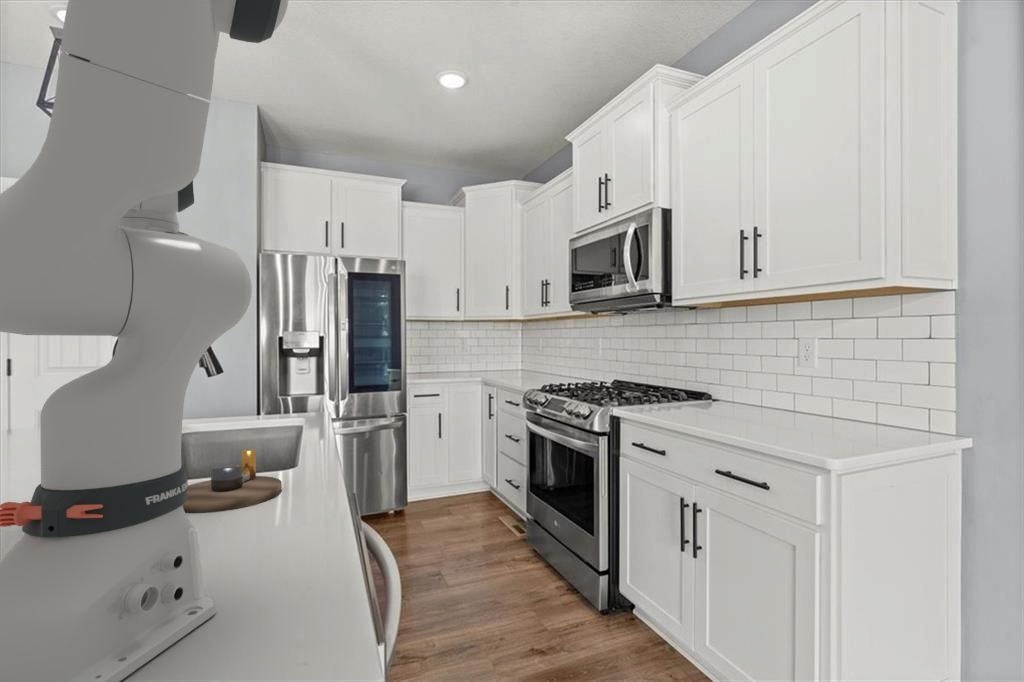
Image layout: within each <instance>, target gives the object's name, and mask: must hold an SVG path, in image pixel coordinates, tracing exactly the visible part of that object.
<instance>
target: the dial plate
mask: <svg viewBox="0 0 1024 682" xmlns="http://www.w3.org/2000/svg"><path fill="white" fill-rule="evenodd" d="M282 483H283V482H282V481H281V480H280V479H279V478H276V477H273V476H267V475H264V476H263V475H256V477H255V478H252V479H249V480H246V481H244V482H243V485H242V486H241V487H239V488H235V489H230V490H222V491H216V490H212V489H211V479H210V480H205V481H204V480H203V481H199V482H195V483H192V484H191V483H190V484H188V487H187V500H186V502H185V503H184V504H183V509H184V511H185V513H189V514H190V513H195V514H196V513H197V514H199V513H213V512H223V511H230V510H231V511H232V510H236V509H241V508H247V507H250V506H255V505H257V504H261V503H264V502H267V501H271V500H272V499H275V498H276V497H277V496H279V495H280V494H281V493H282V490H283V489H282V486H283V485H282Z"/></svg>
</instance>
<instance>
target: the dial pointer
mask: <svg viewBox="0 0 1024 682" xmlns="http://www.w3.org/2000/svg"><path fill="white" fill-rule="evenodd" d="M256 457H257V456H256V449H251V448H250V449H243V450H242V451H241V463H227V464H226V463H225V464H219V465H215V466H212V467H210V480H211V489H212V490H216V491H222V490H230V489H235V488H239V487H241V486H242V485H243V482H244V481H246V480H249V479H252V478H255V477H256V476H257V474H256V473H257V466H256V464H257V463H256V462H257V460H256Z"/></svg>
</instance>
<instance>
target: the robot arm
mask: <svg viewBox="0 0 1024 682" xmlns="http://www.w3.org/2000/svg"><path fill="white" fill-rule="evenodd" d="M288 5H289V0H68V2H67V6H66V11H65V15H64V22H63V27H62V35H61V41H60V42H61V43H60V51H62V52H59V61H58V72H57V80H56V86H55V87H56V88H55V94H54V100H53V101H54V102H53V105H52V106H53V107H52V112H51V116H50V122H49V126H48V129H47V134H46V137H45V141H44V142H43V144H42V147H41V149H40V152H39V154H38V155H37V158H36V159H35V160H34V161H33V163H32V165H31V166H30V167H29V169H28V170H27V171H26V172H25V173H24V174H23V175H22V176H21V177H20V178H19V179H17V181H16V182H14V184H12V185H11V186H10V187H8V188H7V189H5V190H4V191H2V192H1V193H0V332H1V333H7V334H8V333H9V334H14V335H21V336H22V335H23V336H82V337H83V336H86V337H89V336H90V337H91V336H95V337H97V336H100V337H101V336H104V337H106V336H107V337H108V336H110V337H113V338H114V337H115V338H117V347H116V349H115V350H116V351H115V353H114V355H113V357H112V358H111V359H110V361H108V363H106V364H105V365H104V366H101V367H99V368H97V369H95V370H92V371H90V372H88V373H85V374H83V375H80V376H79V377H77V378H74V379H72V380H70V381H69V382H67V383H65V384H63V385H62V386H60V387H58V388H57V389H56V390H54V392H53V393H51V394H50V395H49V396H48V398H47V399H46V401H45V403H44V404H43V406H42V408H41V410H40V415H39V418H40V426H39V427H40V429H39V430H40V432H39V433H40V484H38V485H37V486H36V488H35V489H34V492H33V494H32V497H31V500H30V501H23V502H16V501H15V502H14V501H13V502H12V501H6V502H3V503H1V504H0V528H3V527H4V528H6V527H11V526H17V527H21V531H22V532H23V535H22V537H20V539H19V540H18V541H17V543H16V544H15V545H13V547H12V548H11V549H10V550H9V551H8V552H7V553H6V555H5V556H3V558H2V559H1V560H0V682H121V681H122V680H123V679H125V678H127V677H128V676H129V675H131V674H132V673H134V672H135V671H137V670H138V669H140V668H141V667H143V666H144V665H145V664H146V663H148V662H149V661H150V660H152V659H153V658H155V657H156V656H157V655H159V654H161V653H162V652H163V651H165V650H167V648H169V647H171V646H172V645H173V644H175V643H176V642H178V641H179V640H181V639H182V638H183V637H185V636H186V635H188V633H190V632H191V631H193V630H195V629H196V628H197V627H199V626H200V625H202V624H203V623H204V622H206V621H207V620H209V619H210V618H212V617H213V616H214V615H215V614H216V612H217V610H216V608H217V607H216V602H215V600H214V599H212V598H210V597H209V596H207V595H205V588H204V578H203V569H202V560H201V553H200V543H199V534H198V531H197V529H196V528H195V526H194V525H192V523H191V521H190V520H189V518H188V516H187V514H186V512H185V511H184V509H183V504H184V503H185V502H186V500H187V487H188V485H189V484H188V483H189V482H188V480H189V479H188V478H187V469H186V467H184V466H183V465H182V434H183V432H182V431H183V415H184V408H185V407H184V404H185V396H186V393H187V389H188V386H189V382H190V379H191V378H192V375H193V372H194V371H195V369H196V367H197V365H198V364H199V362H200V360H201V358H202V357H203V355H204V354H205V353H206V352H207V350H208V349H209V348H210V347H211V345H213V343H214V342H215V341H216V340H218V339H219V338H221V336H223V335H224V334H226V333H227V332H228V331H229V330H231V329H233V328H234V327H235V326H236V325H237V324H238V323H239V322H240V321H241V320H242V318H243V317H244V315H245V314H246V313H247V310H248V309H249V306H250V303H251V298H252V292H253V291H252V288H253V285H252V280H251V275H250V273H249V270H248V268H247V265H246V264H245V263H244V261H243V259H242V258H241V257H240V256H239V254H238V253H237V252H236V251H234V250H233V249H231V248H229V247H228V248H227V247H226V246H222V245H219V244H216V243H214V242H211V241H208V240H204V239H201V238H198V237H195V236H193V235H192V236H191V235H189V234H187V233H184V232H181V231H180V223H179V220H178V216H177V213H181V212H183V211H185V210H186V209H188V208H189V207H191V206H193V205H194V204H195V193H194V192H195V191H194V179H195V178H196V177H197V176H198V173H199V171H200V165H201V159H202V153H203V147H204V141H205V134H206V130H207V122H208V116H209V110H210V104H211V103H210V102H208V101H211V98H212V92H213V83H214V74H215V73H214V72H215V64H216V63H215V61H216V57H217V53H218V46H219V40H220V33H223V34H224V33H225V34H228V35H229V37H230V39H232V40H237V41H241V42H245V43H254V44H261V43H262V42H265V41H267V40H269V39H271V38H272V36H273V34H274V32H275V31H276V30H277V29H278V27H279V26H280V25H281V23H282V22H283V19H284V18H285V16H286V12H287V9H288ZM63 52H64V53H63ZM66 53H67V54H66ZM194 96H195V97H194ZM197 97H198V98H197ZM202 99H203V100H202ZM206 100H207V101H206Z"/></svg>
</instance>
